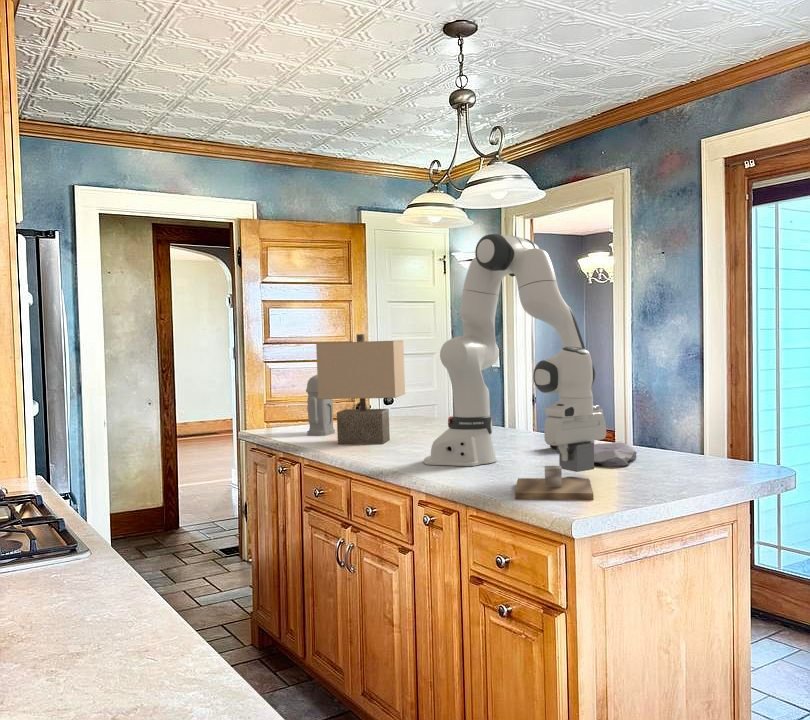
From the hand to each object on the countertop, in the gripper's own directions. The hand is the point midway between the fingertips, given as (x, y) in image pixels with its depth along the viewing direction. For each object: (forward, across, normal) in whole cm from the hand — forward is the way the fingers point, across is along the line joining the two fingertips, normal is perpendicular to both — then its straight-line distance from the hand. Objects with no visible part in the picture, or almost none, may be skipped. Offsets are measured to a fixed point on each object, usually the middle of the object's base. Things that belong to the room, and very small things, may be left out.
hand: (576, 459), depth 198 cm
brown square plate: (+5, +17, +8) cm, 20 cm away
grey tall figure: (+8, +6, -139) cm, 139 cm away
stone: (+6, -26, -11) cm, 28 cm away
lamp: (+7, +6, -103) cm, 104 cm away
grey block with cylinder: (+3, 0, -1) cm, 3 cm away
